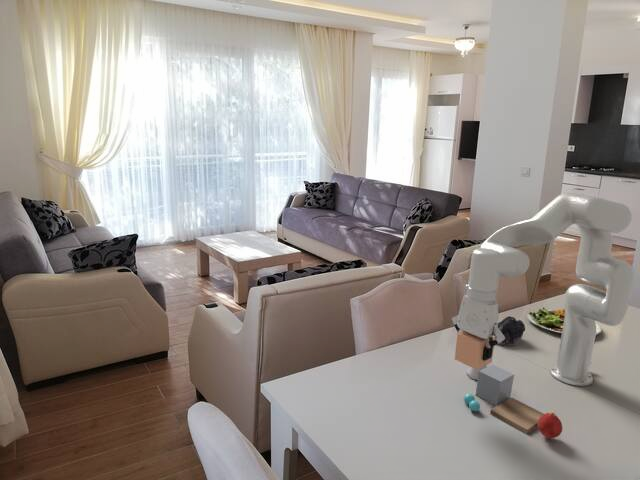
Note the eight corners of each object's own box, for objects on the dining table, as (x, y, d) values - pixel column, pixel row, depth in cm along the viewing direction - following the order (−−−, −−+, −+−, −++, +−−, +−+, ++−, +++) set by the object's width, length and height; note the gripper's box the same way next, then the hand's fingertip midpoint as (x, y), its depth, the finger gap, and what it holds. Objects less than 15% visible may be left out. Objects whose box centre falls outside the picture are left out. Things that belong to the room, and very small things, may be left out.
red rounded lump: (531, 431, 128) (536, 405, 126) (551, 431, 129) (556, 404, 127) (543, 445, 122) (548, 418, 120) (564, 445, 123) (569, 418, 121)
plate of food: (514, 323, 200) (516, 309, 198) (542, 308, 218) (544, 295, 217) (585, 347, 180) (588, 333, 178) (610, 329, 198) (613, 315, 197)
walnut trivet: (511, 400, 142) (511, 397, 142) (547, 419, 134) (547, 415, 133) (490, 413, 135) (490, 409, 135) (526, 433, 127) (527, 429, 127)
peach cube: (469, 352, 139) (472, 327, 137) (491, 362, 133) (495, 336, 131) (454, 359, 134) (457, 333, 132) (476, 369, 129) (480, 342, 127)
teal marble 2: (465, 405, 137) (474, 402, 138) (471, 414, 135) (480, 411, 136) (468, 400, 135) (477, 397, 136) (474, 409, 133) (483, 406, 134)
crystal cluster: (478, 340, 183) (483, 317, 180) (492, 327, 193) (496, 305, 190) (513, 354, 175) (518, 331, 172) (525, 340, 185) (530, 317, 182)
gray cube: (489, 387, 149) (492, 364, 147) (510, 398, 143) (514, 374, 141) (475, 394, 144) (478, 370, 142) (496, 406, 139) (500, 381, 137)
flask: (490, 382, 152) (494, 354, 149) (467, 379, 153) (471, 351, 150) (487, 371, 158) (491, 344, 156) (465, 368, 160) (468, 341, 157)
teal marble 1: (463, 401, 141) (470, 394, 141) (471, 408, 139) (477, 400, 139) (460, 397, 139) (467, 390, 140) (468, 404, 137) (475, 396, 137)
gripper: (446, 287, 133) (440, 345, 138) (503, 307, 120) (494, 370, 124) (462, 282, 138) (456, 338, 142) (519, 301, 125) (509, 362, 129)
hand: (474, 353), depth 133 cm, fingers closed on peach cube, 7 cm apart
